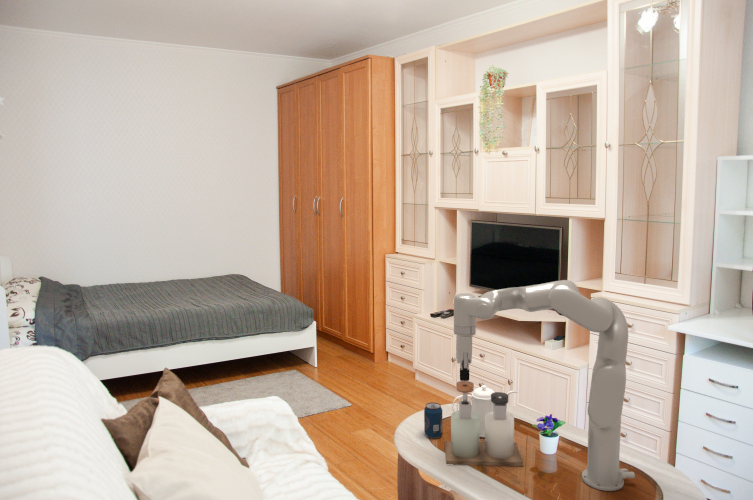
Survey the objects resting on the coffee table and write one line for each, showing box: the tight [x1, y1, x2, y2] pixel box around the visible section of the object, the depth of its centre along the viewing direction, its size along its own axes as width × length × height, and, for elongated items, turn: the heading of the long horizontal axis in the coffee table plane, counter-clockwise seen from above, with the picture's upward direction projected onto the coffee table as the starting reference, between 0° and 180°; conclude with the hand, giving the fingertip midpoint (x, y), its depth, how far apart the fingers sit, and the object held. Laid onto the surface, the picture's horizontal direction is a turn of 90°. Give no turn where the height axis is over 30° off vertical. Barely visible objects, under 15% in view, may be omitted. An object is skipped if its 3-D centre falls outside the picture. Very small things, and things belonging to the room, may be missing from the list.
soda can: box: [423, 402, 444, 439], centre depth 214 cm, size 7×7×12 cm
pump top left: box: [491, 391, 509, 405], centre depth 196 cm, size 6×6×8 cm
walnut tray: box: [444, 440, 524, 467], centre depth 198 cm, size 26×14×2 cm, turn 85°
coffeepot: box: [451, 384, 519, 439], centre depth 215 cm, size 11×25×19 cm, turn 84°
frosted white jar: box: [484, 403, 515, 459], centre depth 197 cm, size 10×10×18 cm
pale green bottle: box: [450, 400, 480, 458], centre depth 198 cm, size 10×10×18 cm
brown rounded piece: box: [455, 380, 475, 404], centre depth 196 cm, size 6×6×8 cm
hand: (464, 379), depth 195 cm, fingers closed
